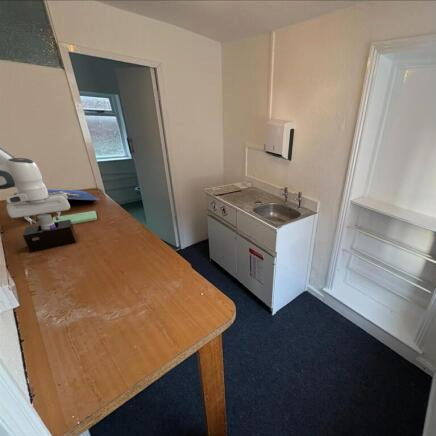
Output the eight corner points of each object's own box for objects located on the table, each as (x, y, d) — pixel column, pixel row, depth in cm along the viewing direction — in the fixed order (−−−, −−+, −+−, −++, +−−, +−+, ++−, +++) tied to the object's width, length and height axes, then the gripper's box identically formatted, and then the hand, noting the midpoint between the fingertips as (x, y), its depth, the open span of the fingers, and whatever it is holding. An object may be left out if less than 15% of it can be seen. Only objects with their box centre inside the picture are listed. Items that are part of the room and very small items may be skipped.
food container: (20, 218, 140) (13, 202, 136) (35, 215, 145) (28, 200, 141) (25, 223, 134) (18, 207, 130) (40, 220, 139) (33, 204, 135)
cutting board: (52, 227, 131) (51, 225, 131) (54, 219, 141) (53, 217, 140) (97, 219, 143) (96, 217, 143) (96, 212, 153) (95, 210, 152)
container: (58, 239, 119) (47, 212, 113) (63, 242, 118) (52, 214, 112) (46, 243, 116) (34, 216, 110) (51, 246, 114) (39, 218, 108)
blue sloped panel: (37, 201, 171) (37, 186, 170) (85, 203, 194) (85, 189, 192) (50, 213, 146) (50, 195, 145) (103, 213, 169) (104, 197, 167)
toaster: (30, 253, 107) (22, 236, 104) (33, 243, 116) (26, 226, 112) (76, 243, 117) (70, 227, 113) (76, 234, 125) (70, 219, 122)
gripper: (65, 189, 115) (74, 215, 120) (3, 196, 103) (16, 224, 108) (65, 192, 111) (74, 218, 116) (0, 200, 98) (14, 229, 104)
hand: (46, 221), depth 112 cm, fingers open, 7 cm apart
